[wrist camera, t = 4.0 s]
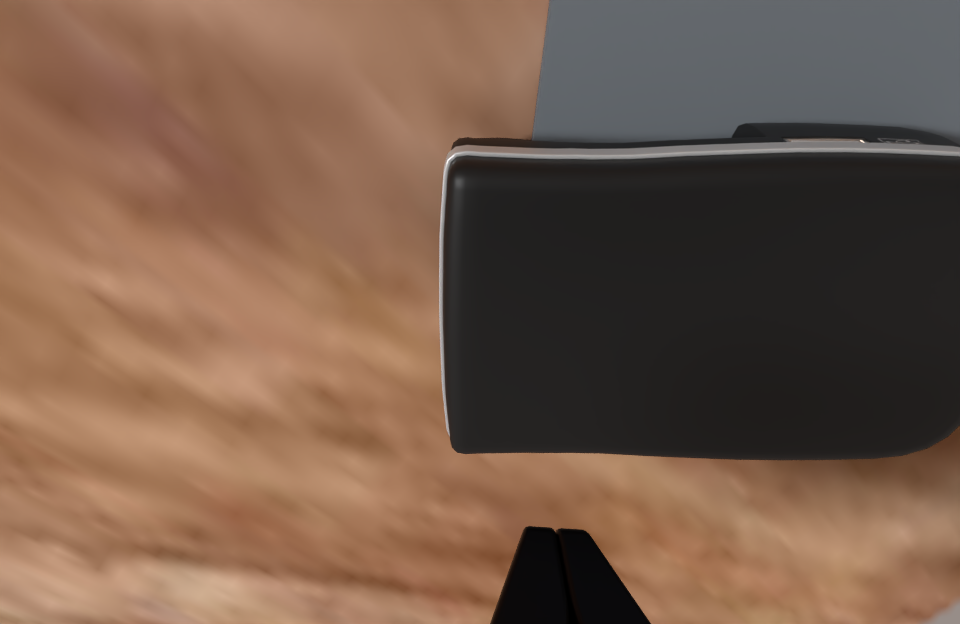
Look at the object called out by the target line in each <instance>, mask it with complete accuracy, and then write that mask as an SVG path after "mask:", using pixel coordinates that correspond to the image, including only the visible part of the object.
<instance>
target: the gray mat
mask: <svg viewBox="0 0 960 624" xmlns="http://www.w3.org/2000/svg"><path fill="white" fill-rule="evenodd" d="M745 123H822V124H850V125H872V126H889V127H902V128H907V129H913V130H919V131H924V132H929V133H933V134H936V135H940V136H943V137H945V138H947V139H949V140H951V141H953V142H955V143H957V144H959V145H960V0H550V2H549V9H548V17H547V25H546V33H545V40H544V48H543V56H542V64H541V71H540V79H539V87H538V95H537V103H536V110H535V118H534V126H533V134H532V140H533V141H552V142H576V143H629V142H647V141H665V140H689V139H717V138H732V135H733V133H734V132H735V130H736V128H737V127H738V126H739V125H742V124H745Z"/></svg>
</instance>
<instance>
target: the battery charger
mask: <svg viewBox="0 0 960 624" xmlns="http://www.w3.org/2000/svg"><path fill="white" fill-rule="evenodd" d="M439 322H440V350H441V375H442V390H443V400H444V410H445V419H446V427H447V431H448V434H449V437H450V441H451V445H452V448H453V449H454V450H455V451H456V452H457V453H463V454H476V453H604V454H622V455H639V456H661V457H685V458H709V459H736V460H842V459H876V458H886V457H895V456H903V455H907V454H910V453H913V452H917V451H920V450H923V449H927V448H929V447H930V446H932V445H934V444H936V443H938V442H939V441H941V440H943V439H945V438H946V437H948V436H949V435H950V434H951V433H952V432H953V431H954V430H955V429H956V428H957V427H958V426H960V145H959V144H957V143H955V142H953V141H951V140H949V139H947V138H945V137H943V136H940V135H936V134H933V133H929V132H924V131H919V130H913V129H907V128H902V127H889V126H872V125H850V124H822V123H745V124H742V125H739V126H738V127H737V128H736V130H735V132H734V133H733V135H732V138H717V139H689V140H665V141H647V142H629V143H576V142H552V141H533V140H522V139H510V138H468V137H467V138H460V139H458V140H457V141H455V142H454V143H453V145H452V149H451V151H450V152H449V153H448V154H447V158H446V161H445V165H444V174H443V187H442V202H441V218H440V243H439Z"/></svg>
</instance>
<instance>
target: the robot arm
mask: <svg viewBox="0 0 960 624" xmlns="http://www.w3.org/2000/svg"><path fill="white" fill-rule="evenodd" d="M490 624H651V623H650V622H649V620H648V619H647V617H646V616H645V614H644V613H643V612H642V610H641V609H640V607H639V606H638V604H637V603H636V601H635V600H634V598H633V597H632V596H631V594H630V593H629V591H628V590H627V588H626V587H625V585H624V584H623V582H622V581H621V580H620V578H619V577H618V575H617V574H616V572H615V571H614V569H613V568H612V566H611V565H610V564H609V562H608V561H607V559H606V558H605V556H604V555H603V553H602V552H601V550H600V549H599V548H598V546H597V545H596V543H595V542H594V540H593V539H592V537H591V536H590V535H589V533H587V532H586V531H584V530H578V529H563V528H561V529H558V530H556V532H555V531H554V530H553V529H552V528H547V527H532V526H528V527H525V529H524V530H523V532H522V535H521V538H520V541H519V544H518V546H517V549H516V552H515V555H514V558H513V561H512V563H511V566H510V569H509V572H508V575H507V578H506V580H505V583H504V586H503V589H502V592H501V595H500V597H499V600H498V603H497V606H496V609H495V612H494V614H493V617H492V620H491V623H490Z"/></svg>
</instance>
